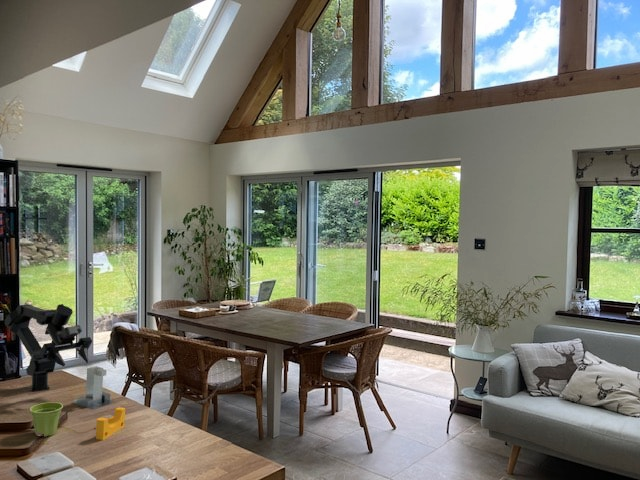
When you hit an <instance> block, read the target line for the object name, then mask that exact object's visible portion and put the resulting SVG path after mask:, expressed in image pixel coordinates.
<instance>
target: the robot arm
mask: <svg viewBox="0 0 640 480" xmlns="http://www.w3.org/2000/svg"><path fill="white" fill-rule="evenodd" d="M72 315H73V309H72V308H71V307H70V306H66V305H65V304H63V303H62V304H57V306H56V309H45V308H41V307H37V306H34V305H32V304H20V305H17V307H16V308H15V309H13V310H11V312H9V313H8V315H7V316H6V317H5V319H4V325H5V327H6V328H7V329H8V331H9V332H11V333H13V334H16V335H17V336H18V338H19V340H20V341H21V343H22V344H23V346H24V349H25V350H26V351H27V353H28V355H29V357H30V360H29V365H28V366H27V368H26V369H25V371H26V375H27V376H31V385H29V390H30V391H31V392H36V391H44V390H49V389H50V388H51V387H50V386H49V384H48V382H49V381H48V379H49V374H50V373H54V371H55V367H56V364H58V365H60V366H61V367H65V366H66V362H65V361H64V359H63V357H62V355H61V353H60V352H64V351H69V350H75V351H77V352H78V353H77V354H78V355H79V357H81V359H82V360H84V361H85V362H86V363H87V362H88V361H89V355H88V350H89V348H90V346H91V344H93V343H92V342H93V339H92V338H91V337H90V336H85V337H80V338H79V339H78V341H77V342H74V341H75V340H76V336H78V335H80V334H81V333H82V331H83V330H82V327H81V325H80V324H77V325H73V326H67V327H64V326H66V325H67V324H68V323H69V321H70V319H71V318H72ZM32 319H34V320H35V321H36V323H37V324H39V325H40V326H46V328H45V331H44V335H49V336H50V338H51V342H49V343H43V344H42V346H41V344H40V343H39V341H38V340H37V338H36V336H35V335H34V333H33V331H32V330H31V329H30V327H29V326H30V323H31V320H32Z"/></svg>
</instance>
